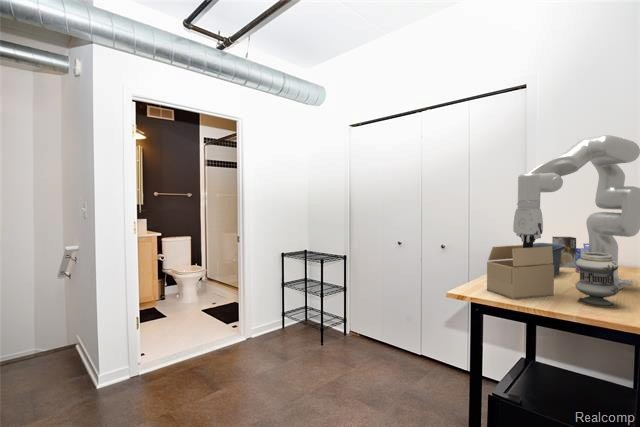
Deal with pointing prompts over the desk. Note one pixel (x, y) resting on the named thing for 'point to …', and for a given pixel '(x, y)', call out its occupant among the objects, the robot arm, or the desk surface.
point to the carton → (520, 279)
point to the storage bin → (556, 253)
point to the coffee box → (567, 250)
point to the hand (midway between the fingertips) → (527, 252)
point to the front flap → (532, 256)
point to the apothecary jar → (597, 278)
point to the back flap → (503, 252)
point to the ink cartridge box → (579, 253)
